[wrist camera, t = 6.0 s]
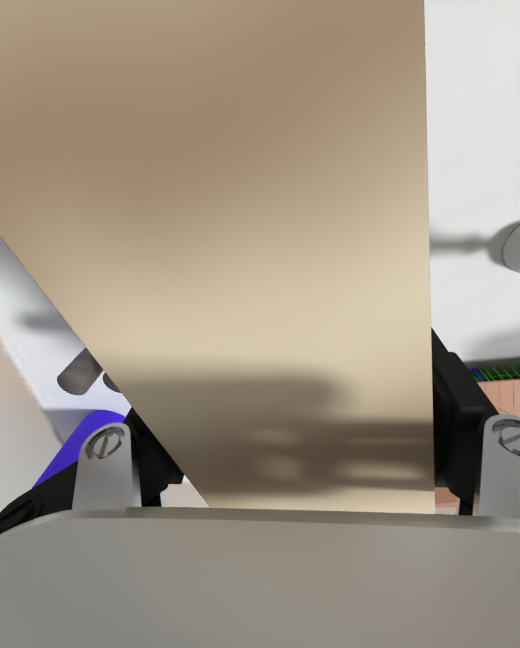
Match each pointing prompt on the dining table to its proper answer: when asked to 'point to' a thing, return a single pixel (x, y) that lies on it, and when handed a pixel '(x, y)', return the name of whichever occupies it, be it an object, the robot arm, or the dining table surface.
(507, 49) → the dining table surface
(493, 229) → the dining table surface
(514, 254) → the chalice
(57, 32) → the shelf board
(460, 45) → the dining table surface
